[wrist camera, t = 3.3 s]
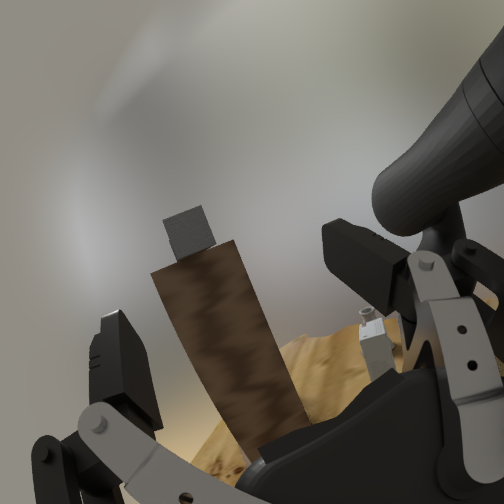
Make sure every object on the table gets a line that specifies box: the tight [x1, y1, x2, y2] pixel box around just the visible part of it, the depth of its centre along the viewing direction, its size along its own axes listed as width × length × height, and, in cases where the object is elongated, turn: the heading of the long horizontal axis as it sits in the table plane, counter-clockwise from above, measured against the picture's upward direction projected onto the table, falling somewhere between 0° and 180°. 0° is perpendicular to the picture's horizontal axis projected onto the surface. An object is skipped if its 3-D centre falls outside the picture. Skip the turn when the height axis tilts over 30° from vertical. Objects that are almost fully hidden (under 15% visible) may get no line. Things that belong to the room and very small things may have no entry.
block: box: [163, 205, 216, 262], centre depth 32 cm, size 4×25×4 cm, turn 15°
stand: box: [151, 240, 312, 467], centre depth 38 cm, size 12×16×32 cm
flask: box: [359, 306, 395, 357], centre depth 51 cm, size 7×7×10 cm
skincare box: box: [359, 318, 396, 382], centre depth 39 cm, size 6×4×12 cm
